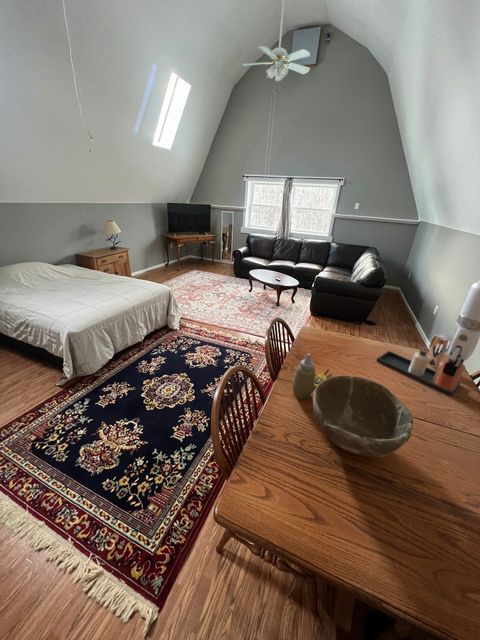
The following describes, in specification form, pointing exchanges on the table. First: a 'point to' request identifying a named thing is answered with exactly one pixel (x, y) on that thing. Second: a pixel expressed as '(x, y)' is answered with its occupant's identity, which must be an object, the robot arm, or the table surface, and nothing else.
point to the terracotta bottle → (449, 377)
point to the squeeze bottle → (304, 378)
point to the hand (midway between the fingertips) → (451, 370)
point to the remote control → (319, 379)
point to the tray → (403, 366)
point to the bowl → (361, 415)
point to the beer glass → (438, 349)
